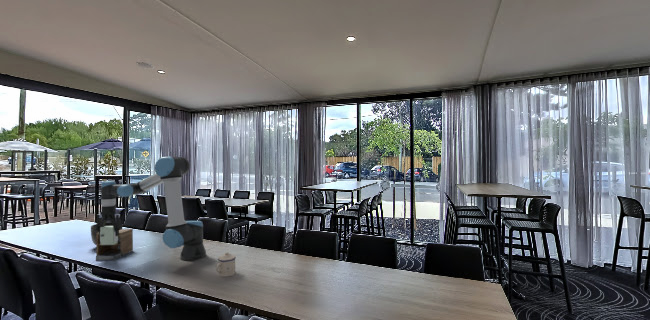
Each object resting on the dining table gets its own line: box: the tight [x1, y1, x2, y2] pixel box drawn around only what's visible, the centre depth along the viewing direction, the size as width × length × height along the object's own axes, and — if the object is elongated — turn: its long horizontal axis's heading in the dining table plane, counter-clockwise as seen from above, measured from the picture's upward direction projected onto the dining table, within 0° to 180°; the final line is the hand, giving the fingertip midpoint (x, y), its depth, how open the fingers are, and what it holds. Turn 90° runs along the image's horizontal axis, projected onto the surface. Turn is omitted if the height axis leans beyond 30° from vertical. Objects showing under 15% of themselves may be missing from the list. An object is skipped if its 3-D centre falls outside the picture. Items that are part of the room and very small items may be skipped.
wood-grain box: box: [95, 228, 134, 256], centre depth 201 cm, size 16×12×15 cm
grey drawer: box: [95, 237, 124, 262], centre depth 191 cm, size 11×9×12 cm
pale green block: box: [100, 226, 118, 245], centre depth 190 cm, size 8×5×11 cm, turn 90°
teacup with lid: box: [215, 251, 236, 278], centre depth 161 cm, size 12×9×12 cm
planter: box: [90, 221, 117, 246], centre depth 218 cm, size 17×17×16 cm
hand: (109, 241), depth 190 cm, fingers closed on pale green block, 8 cm apart
